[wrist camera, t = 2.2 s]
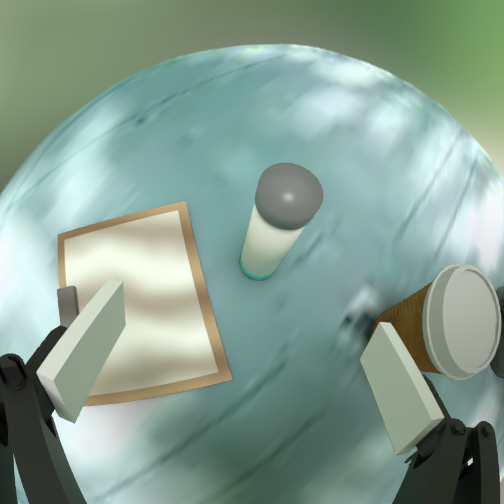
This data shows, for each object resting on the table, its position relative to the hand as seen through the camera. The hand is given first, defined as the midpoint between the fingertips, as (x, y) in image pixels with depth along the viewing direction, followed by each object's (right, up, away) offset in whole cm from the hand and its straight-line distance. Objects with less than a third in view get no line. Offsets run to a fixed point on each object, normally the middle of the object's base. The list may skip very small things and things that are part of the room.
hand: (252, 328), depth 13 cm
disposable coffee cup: (+15, -6, +13) cm, 21 cm away
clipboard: (-12, -1, +11) cm, 16 cm away
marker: (+1, +3, +14) cm, 15 cm away
